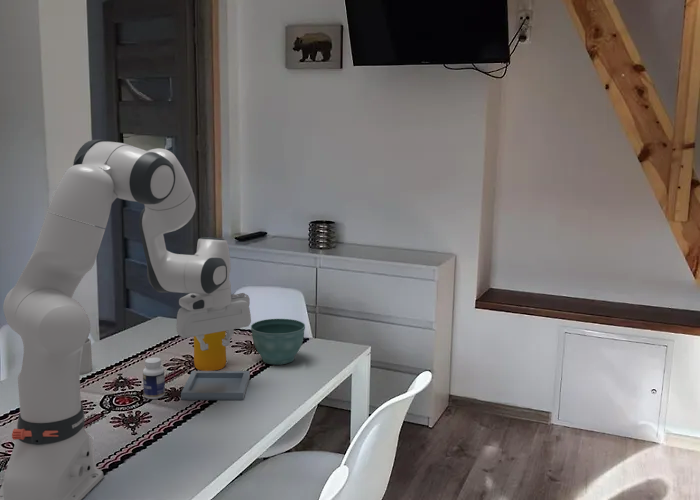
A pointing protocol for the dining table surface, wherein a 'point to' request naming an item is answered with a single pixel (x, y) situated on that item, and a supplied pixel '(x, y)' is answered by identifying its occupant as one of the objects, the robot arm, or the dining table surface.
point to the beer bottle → (210, 352)
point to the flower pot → (278, 339)
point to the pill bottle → (153, 379)
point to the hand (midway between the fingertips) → (215, 347)
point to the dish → (216, 385)
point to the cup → (86, 358)
